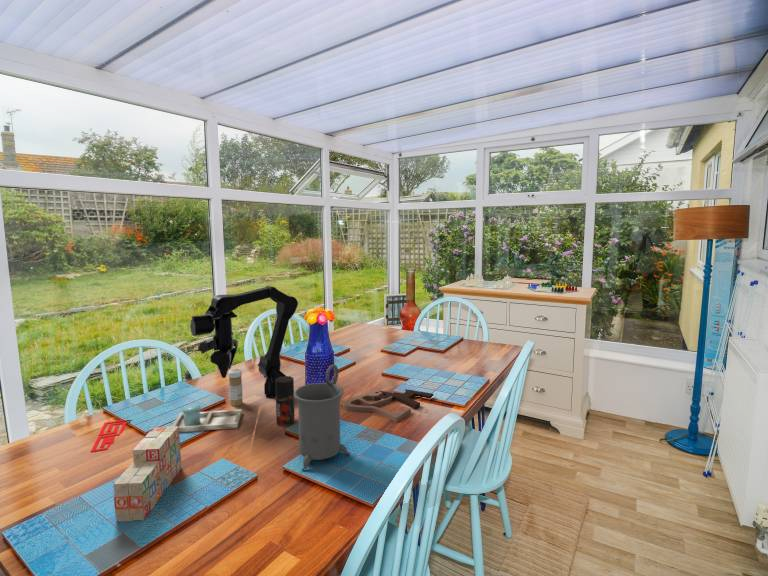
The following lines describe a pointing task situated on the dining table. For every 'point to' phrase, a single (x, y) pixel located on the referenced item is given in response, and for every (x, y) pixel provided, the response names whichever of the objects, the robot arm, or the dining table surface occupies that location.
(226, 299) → the robot arm
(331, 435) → the grey footed bucket
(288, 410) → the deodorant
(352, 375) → the dining table surface
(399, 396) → the wood carving
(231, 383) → the sprinkles bottle
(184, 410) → the pot
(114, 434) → the maze puzzle
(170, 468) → the stack of blocks
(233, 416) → the caddy
